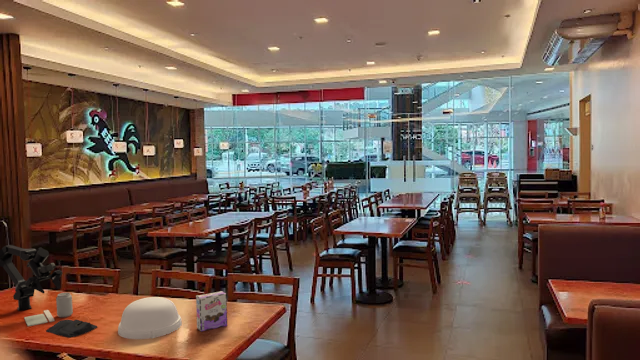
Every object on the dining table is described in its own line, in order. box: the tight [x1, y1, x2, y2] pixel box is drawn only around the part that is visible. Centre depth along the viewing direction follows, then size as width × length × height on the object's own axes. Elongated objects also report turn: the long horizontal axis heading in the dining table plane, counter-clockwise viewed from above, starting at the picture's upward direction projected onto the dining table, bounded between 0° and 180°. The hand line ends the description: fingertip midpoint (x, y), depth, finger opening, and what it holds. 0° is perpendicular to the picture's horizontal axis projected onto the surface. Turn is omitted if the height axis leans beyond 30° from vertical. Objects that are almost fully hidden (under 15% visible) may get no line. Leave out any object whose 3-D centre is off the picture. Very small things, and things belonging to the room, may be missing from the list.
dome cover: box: [117, 296, 182, 340], centre depth 240 cm, size 32×30×14 cm
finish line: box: [43, 309, 56, 323], centre depth 261 cm, size 22×2×1 cm, turn 37°
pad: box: [24, 313, 49, 327], centre depth 255 cm, size 16×9×1 cm, turn 37°
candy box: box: [195, 290, 228, 332], centre depth 238 cm, size 14×6×16 cm, turn 122°
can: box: [55, 292, 74, 318], centre depth 261 cm, size 8×8×12 cm
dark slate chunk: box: [45, 319, 98, 339], centre depth 240 cm, size 15×22×5 cm
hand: (51, 290), depth 264 cm, fingers open, 9 cm apart
